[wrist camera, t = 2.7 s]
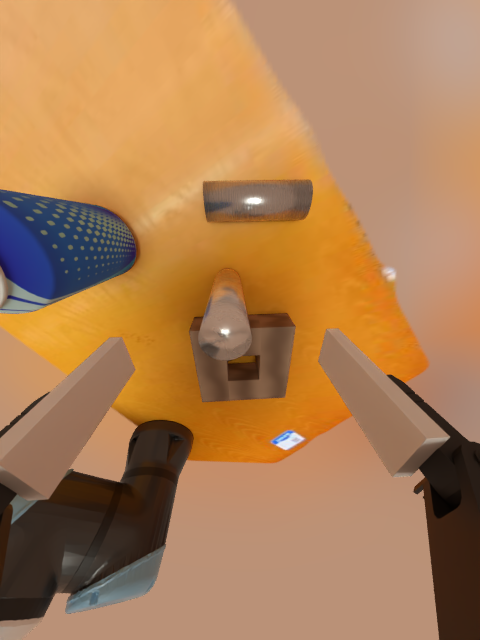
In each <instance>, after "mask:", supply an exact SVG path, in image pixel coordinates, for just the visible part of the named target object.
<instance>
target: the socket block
mask: <svg viewBox="0 0 480 640" xmlns="http://www.w3.org/2000/svg"><path fill="white" fill-rule="evenodd" d="M248 320H249V325H250V330H251V335H252V342H251V345H250V347H249V349H248V350H247V352H246V353H245V354H243V355H242V356H251V355H256V362H255V363H235V364H228V360H217V359H214V358H212V357H210V356H208V355H207V354H206V353H205V352H204V351H203V350H202V349H201V347H200V345H199V342H198V334H199V331H200V327H201V324H202V321H203V317H195V318H194V320H193V323H192V325H191V328H190V330H189V333H190V338H191V344H192V349H193V354H194V360H195V365H196V370H197V376H198V381H199V386H200V392H201V397H202V402H213V401H231V400H248V399H265V398H283V397H285V394H286V387H287V381H288V374H289V367H290V361H291V354H292V347H293V341H294V334H295V327H296V326H295V325H294V323H293V322H292V320H291V319H290V317H289V316H288V314H287V313H285V314H261V315H248Z"/></svg>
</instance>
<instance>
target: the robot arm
mask: <svg viewBox="0 0 480 640" xmlns="http://www.w3.org/2000/svg"><path fill="white" fill-rule="evenodd" d="M318 362H319V363H320V365H321V366H322V368H323V370H324V371H325V373H326V374H327V376H328V377H329V379H330V380H331V382H332V384H333V385H334V387H335V388H336V390H337V391H338V393H339V395H340V396H341V398H342V399H343V401H344V402H345V404H346V406H347V407H348V409H349V410H350V412H351V413H352V415H353V417H354V418H355V419H356V421H357V422H358V424H359V426H360V427H361V429H362V431H363V432H364V434H365V435H366V437H367V438H368V440H369V442H370V443H371V445H372V446H373V448H374V449H375V451H376V453H377V454H378V455H379V457H380V459H381V460H382V462H383V464H384V465H385V467H386V468H387V470H388V471H389V473H390V474H391V476H392V477H404V476H412V475H413V474H414V473H415V472H416V471H417V470H418V469H420V471H421V472H422V473H423V474H424V476H425V478H424V479H423V480H422V481H421V482H419V483H418V484H417V485H416V486H415V488H414V493H416V494H418V493H420V492H421V491H422V490H424V496H423V498H424V499H425V507H426V508H425V509H426V518H427V528H428V537H429V546H430V556H431V565H432V575H433V583H434V593H435V603H436V612H437V622H438V631H439V640H480V444H479V443H476V442H470V441H468V440H467V439H466V438H465V437H463V436H462V435H461V434H460V433H459V432H458V431H457V430H456V429H455V428H453V427H452V426H451V425H450V424H449V423H448V422H447V421H446V420H445V419H444V418H442V417H441V416H440V415H439V414H438V413H437V412H436V411H435V410H434V409H432V407H430V406H429V405H428V404H427V403H425V402H424V400H423V399H422V398H421V397H419V396H418V395H417V394H415V392H414V391H413V390H411V388H409V387H408V386H407V385H406V384H405V383H404V382H402V381H401V380H399V379H397V378H396V377H394V376H393V375H386V374H385V373H383V372H382V371H381V370H380V369H379V368H378V367H377V366H376V365H375V364H374V363H373V362H372V361H371V360H370V359H369V358H368V357H367V356H366V355H365V354H364V353H363V352H362V351H361V350H360V349H359V348H358V347H357V346H356V345H355V344H354V343H352V342H351V341H350V340H349V339H348V338H347V337H346V336H345V335H344V334H343V333H342V332H341V331H340V330H339V329H326V333H325V337H324V341H323V344H322V348H321V352H320V356H319V360H318ZM134 371H135V367H134V365H133V363H132V360H131V358H130V355H129V353H128V351H127V348H126V346H125V344H124V341H123V339H122V337H117V338H109V339H108V340H107V341H106V342H104V343H103V344H102V345H101V346H100V347H99V348H98V349H97V350H96V351H95V352H94V353H92V354H91V355H90V356H89V357H88V358H87V359H86V360H85V361H84V362H83V363H82V364H80V365H79V366H78V367H77V368H76V369H75V370H74V371H73V372H72V373H71V374H70V375H68V376H67V377H66V378H65V379H64V380H63V381H62V382H61V383H60V384H59V385H58V386H56V388H54V389H53V390H52V391H51V392H48V393H47V394H45V395H43V396H42V397H40V398H39V399H37V400H36V401H34V402H33V403H32V404H31V405H30V406H28V407H27V408H26V409H25V410H24V411H23V412H22V413H21V415H19V416H18V417H16V418H15V419H14V420H13V421H12V422H11V423H10V425H8V426H6V427H5V428H4V429H3V430H1V431H0V640H22V639H23V638H24V637H25V636H26V635H27V634H28V633H30V632H31V631H32V630H33V629H34V628H35V627H36V626H37V625H38V624H39V623H40V622H41V621H42V619H43V617H44V615H45V613H46V611H47V609H48V607H49V605H50V603H51V601H52V599H53V597H54V595H55V594H56V593H70V594H71V596H70V597H68V600H67V606H66V610H65V612H66V613H67V614H71V613H76V612H82V611H87V610H91V609H96V608H100V607H104V606H107V605H112V604H116V603H120V602H124V601H127V600H131V599H134V598H138V597H141V596H143V595H145V594H146V593H148V592H149V591H150V589H151V588H152V587H153V585H154V583H155V581H156V579H157V575H158V572H159V568H160V564H161V560H162V556H163V552H164V549H165V547H166V544H165V542H166V538H167V533H168V528H169V522H170V518H171V513H172V508H173V503H174V498H175V493H176V487H177V483H178V478H179V475H180V473H181V471H182V469H183V466H184V464H185V462H186V460H187V458H188V456H189V454H190V452H191V449H192V444H193V435H192V433H191V432H190V431H189V430H188V429H187V428H186V427H184V426H182V425H180V424H178V423H174V422H170V421H150V422H147V423H144V424H142V425H140V426H138V427H137V428H136V429H135V431H134V433H133V435H132V437H131V439H130V442H129V449H128V455H127V462H126V468H125V472H124V474H123V477H122V479H121V481H120V482H116V481H112V480H107V479H103V478H99V477H95V476H91V475H87V474H83V473H79V472H75V471H73V469H70V470H68V469H69V468H70V466H71V465H72V463H73V462H74V460H75V459H76V458H77V456H78V455H79V453H80V451H81V450H82V449H83V447H84V446H85V444H86V443H87V441H88V439H89V438H90V437H91V435H92V434H93V432H94V431H95V429H96V428H97V426H98V425H99V423H100V422H101V420H102V419H103V417H104V416H105V414H106V413H107V411H108V410H109V408H110V407H111V405H112V404H113V402H114V401H115V399H116V398H117V396H118V395H119V393H120V392H121V390H122V389H123V387H124V386H125V384H126V383H127V381H128V380H129V378H130V377H131V375H132V374H133V372H134Z"/></svg>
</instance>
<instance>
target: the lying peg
mask: <svg viewBox="0 0 480 640" xmlns="http://www.w3.org/2000/svg"><path fill="white" fill-rule="evenodd" d="M312 194H313V186H312V182H311V180H257V181H204V182H203V196H204V206H205V213H206V218H207V221H208V222H228V221H270V220H304V219H305V218H306V216H307V214H308V212H309V209H310V206H311V202H312Z"/></svg>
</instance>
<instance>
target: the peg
mask: <svg viewBox="0 0 480 640" xmlns="http://www.w3.org/2000/svg"><path fill="white" fill-rule="evenodd" d="M198 342H199V345H200V347H201V349H202V350H203V351H204V352H205V353H206V354H207V355H208V356H210V357H212V358H214V359H217V360H233V359H236V358H238V357H240V356H242V355H243V354H245V353H246V352H247V350H248V349H249V347H250V345H251V342H252V335H251V330H250V325H249V320H248V315H247V310H246V305H245V300H244V295H243V290H242V285H241V280H240V276H239V274H238V273H237V272H236V271H235V270H233V269H229V268H226V269H222V270H220V271H219V272H218V273H217V275H216V277H215V280H214V284H213V287H212V290H211V294H210V297H209V300H208V304H207V307H206V310H205V314H204V317H203V321H202V324H201V327H200V331H199V334H198Z"/></svg>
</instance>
